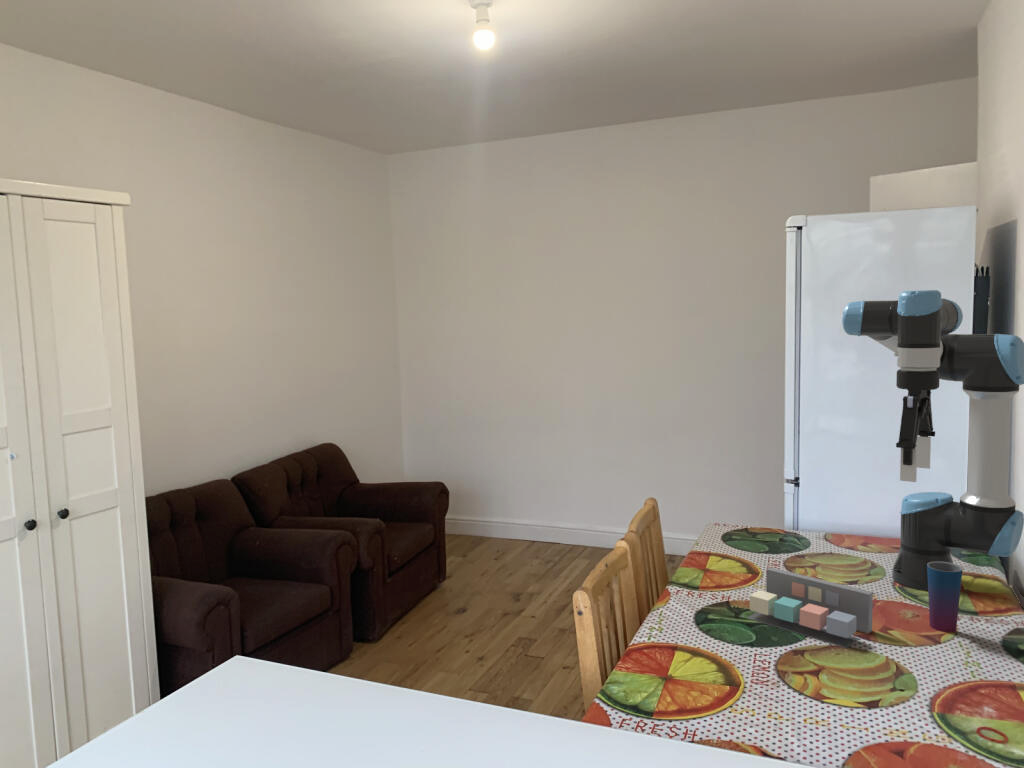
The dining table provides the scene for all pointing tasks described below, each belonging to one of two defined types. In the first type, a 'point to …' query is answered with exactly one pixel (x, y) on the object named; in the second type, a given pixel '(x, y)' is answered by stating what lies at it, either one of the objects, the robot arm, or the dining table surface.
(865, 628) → the keypad
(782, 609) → the teal key
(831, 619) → the slate key
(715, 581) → the dining table surface
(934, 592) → the cup
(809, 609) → the coral key
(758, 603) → the sand key
